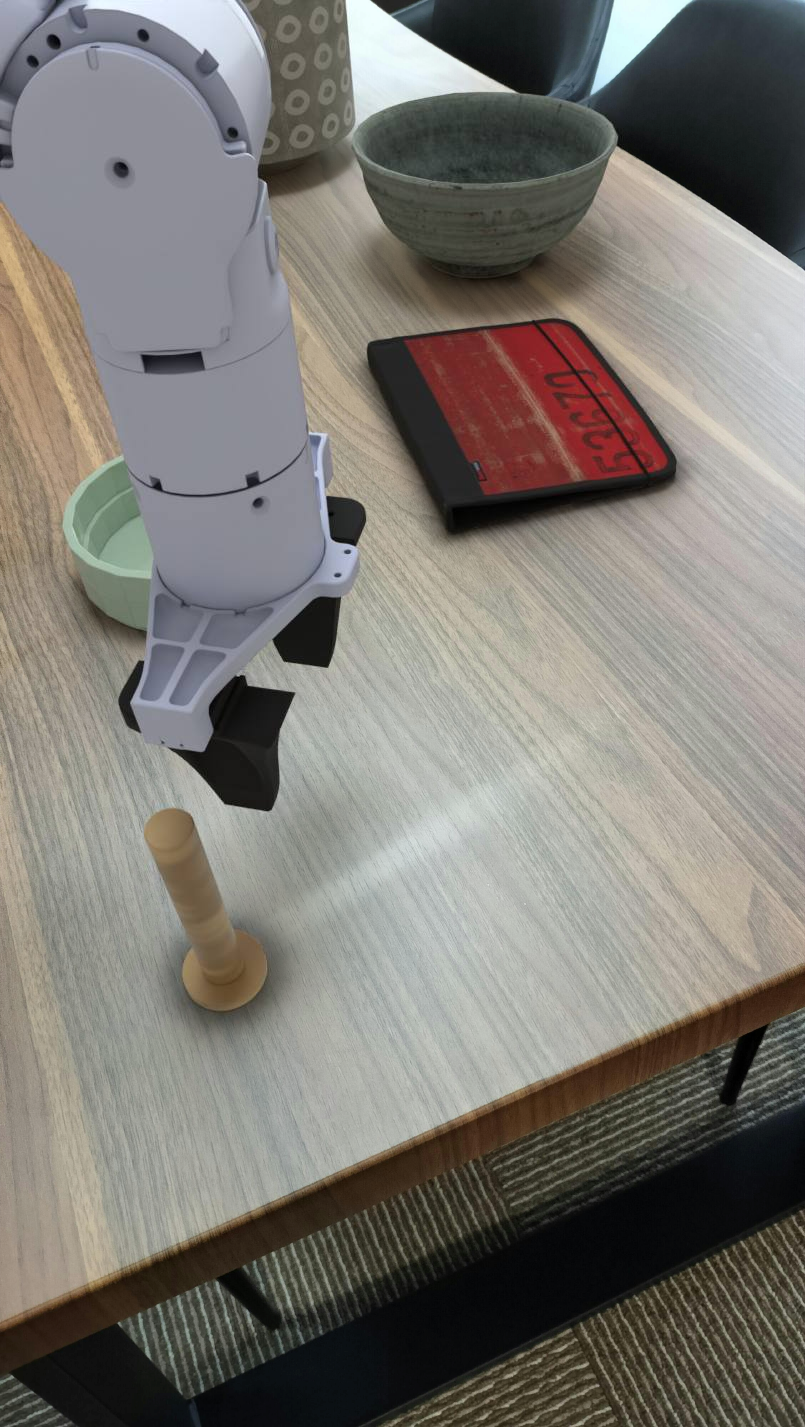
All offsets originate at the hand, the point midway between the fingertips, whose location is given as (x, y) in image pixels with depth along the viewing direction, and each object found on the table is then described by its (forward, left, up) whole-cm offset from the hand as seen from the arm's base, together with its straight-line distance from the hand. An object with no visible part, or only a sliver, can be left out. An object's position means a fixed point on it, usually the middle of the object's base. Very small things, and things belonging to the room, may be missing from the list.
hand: (280, 726), depth 42 cm
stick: (-4, -6, -9) cm, 11 cm away
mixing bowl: (-6, +22, -9) cm, 25 cm away
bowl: (+18, +58, -9) cm, 62 cm away
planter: (0, +84, -9) cm, 85 cm away
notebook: (+16, +33, -9) cm, 38 cm away
